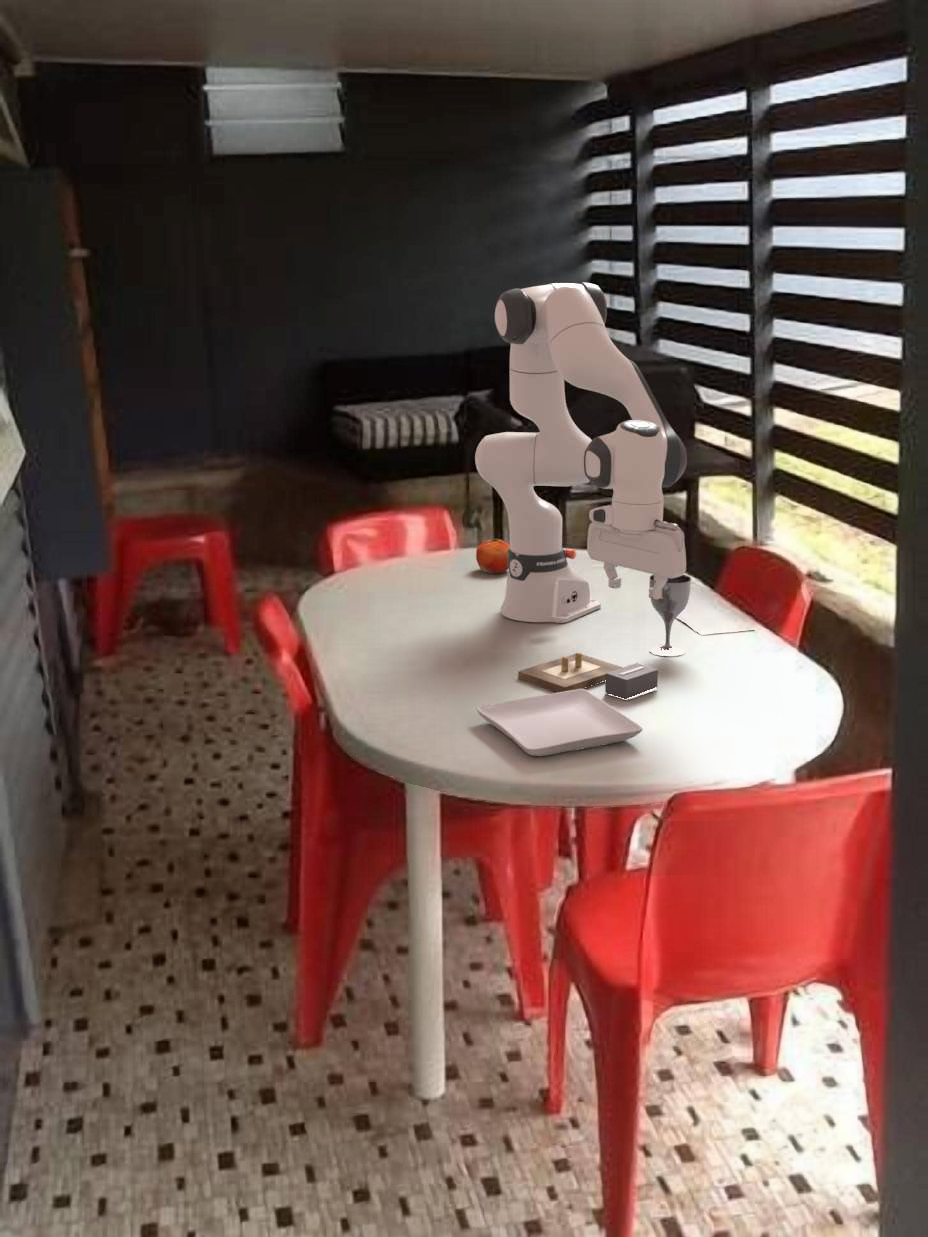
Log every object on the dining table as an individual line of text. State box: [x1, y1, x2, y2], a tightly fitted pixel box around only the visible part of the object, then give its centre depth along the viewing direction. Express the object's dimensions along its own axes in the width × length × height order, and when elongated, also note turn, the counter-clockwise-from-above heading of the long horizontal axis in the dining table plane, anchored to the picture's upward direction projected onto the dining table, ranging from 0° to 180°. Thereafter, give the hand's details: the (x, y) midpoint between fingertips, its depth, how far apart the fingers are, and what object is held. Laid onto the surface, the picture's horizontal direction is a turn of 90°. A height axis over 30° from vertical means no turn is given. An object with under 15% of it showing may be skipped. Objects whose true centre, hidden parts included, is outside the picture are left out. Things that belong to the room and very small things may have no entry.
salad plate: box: [475, 688, 643, 757], centre depth 227 cm, size 21×21×3 cm
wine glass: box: [648, 573, 692, 650], centre depth 267 cm, size 8×8×15 cm
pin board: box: [517, 652, 624, 693], centre depth 254 cm, size 16×12×4 cm
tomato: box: [475, 538, 510, 574], centre depth 327 cm, size 9×9×8 cm
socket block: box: [604, 662, 659, 699], centre depth 246 cm, size 8×5×4 cm, turn 132°
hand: (634, 592), depth 241 cm, fingers open, 8 cm apart
